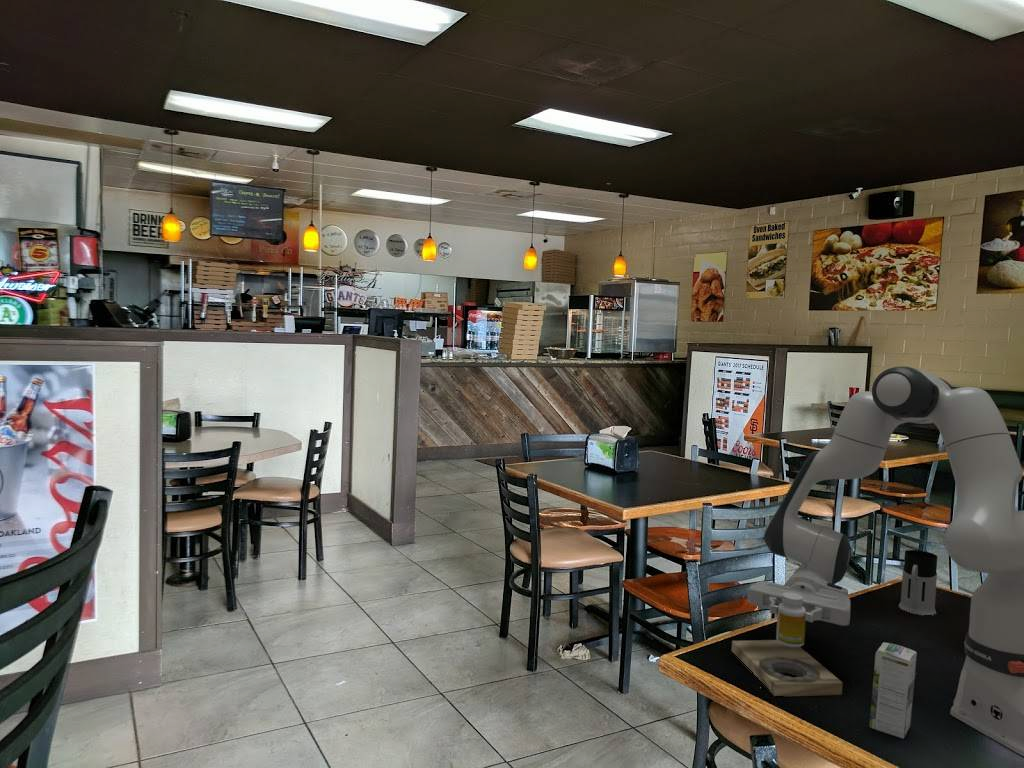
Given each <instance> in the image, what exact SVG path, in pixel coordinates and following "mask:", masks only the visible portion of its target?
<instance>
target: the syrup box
mask: <svg viewBox="0 0 1024 768" xmlns="http://www.w3.org/2000/svg"><path fill="white" fill-rule="evenodd" d="M917 654H918V652H916V650H913V649H911V648H908V647H905V646H902V645H899V644H894V643H891V642H882V643H881V646H879V648H878V649H877V650H876V651H875V656H874V668H873V679H872V680H873V681H872V691H871V702H870V703H871V704H870V714H869V728H871V729H873V730H876V731H877V732H882V733H884V734H888V735H890V736H894V737H897V738H900V739H903V740H904V739H905V737H906V736H907V734H908V731H909V729H910V727H911V724H912V723H911V721H912V712H913V700H914V690H915V689H914V688H915V678H916V664H917V663H916V662H917V656H918V655H917Z"/></svg>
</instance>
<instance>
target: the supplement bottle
mask: <svg viewBox="0 0 1024 768" xmlns="http://www.w3.org/2000/svg"><path fill="white" fill-rule="evenodd" d="M782 602H783V603H781V604H779V606H778V614H776V615H777V618H776V630H775V631H776V635H775V640H777V641H778V642H779V643H781V644H783V645H786V646H790V647H802V646H804V645H805V637H806V636H805V635H806V621H805V612H806V610H805V608H804V607H803V606H802V605H803V597H802V596H801V595H799V594H796V593H789V592H787V593H783V594H782Z"/></svg>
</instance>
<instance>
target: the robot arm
mask: <svg viewBox="0 0 1024 768" xmlns="http://www.w3.org/2000/svg"><path fill="white" fill-rule="evenodd" d="M902 424H904V425H906V426H932V425H933V426H934V425H935V426H936V427H937V429H938V431H939V433H940V435H941V438H942V441H943V445H944V448H945V452H946V455H947V458H948V461H949V464H950V468H951V470H952V475H953V477H954V481H955V487H956V508H955V513H954V517H953V519H952V521H951V522H950V524H949V525H948V526H947V527H946V530H945V534H944V545H945V548H946V549H945V550H946V552H947V553H948V556H949V557H950V559H951V560H952V561H953V562H954V563H955V564H956V565H957V566H959V567H960V568H962V569H964V570H968V571H973V572H977V573H984V574H987V576H986V577H985V579H984V580H983V582H982V583H981V584H980V585H979V586H977V588H976V589H975V590H974V591H973V593H972V595H971V598H970V609H969V610H970V611H969V623H968V624H969V625H968V631H967V632H966V634H965V640H964V642H963V643H964V653H965V656H966V657H965V661H964V664H963V667H962V669H961V672H960V675H959V676H960V677H959V680H958V686H957V690H956V695H955V697H954V699H953V702H952V703H953V705H952V706H951V708H950V712H949V714H950V715H951V716H952V717H954V718H956V719H957V720H959V721H961V722H963V723H965V724H966V725H967V726H970V727H971V728H973V729H975V730H977V731H978V732H980V733H982V734H984V735H985V736H987V737H989V738H991V739H992V740H993V741H996V742H997V743H999V744H1001V745H1003V746H1004V747H1006V748H1008V749H1009V750H1012V751H1013V752H1015V753H1016V754H1019V755H1020V756H1022V757H1024V510H1017V509H1016V501H1015V498H1016V497H1015V494H1016V488H1017V486H1018V484H1019V483H1020V482H1021V481H1022V478H1023V475H1024V474H1023V473H1024V472H1023V467H1022V466H1021V463H1020V459H1019V457H1018V453H1017V451H1016V448H1015V446H1014V443H1013V440H1012V437H1011V435H1010V432H1009V430H1008V427H1007V423H1006V422H1005V420H1004V418H1003V416H1002V414H1001V412H1000V410H999V408H998V407H997V405H996V403H995V402H994V400H993V399H992V397H991V395H990V394H989V393H988V392H987V391H985V390H984V389H981V388H980V387H975V386H964V387H963V386H961V387H957V388H954V387H953V386H952V385H951V384H950V383H949V382H948V381H947V380H945V379H944V378H941V377H938V376H936V375H934V374H932V373H931V372H928V371H927V370H926V371H925V370H922V369H919V368H918V369H917V368H914V367H911V366H903V365H902V366H894V367H891V368H890V367H889V368H887V369H885V370H883V371H882V372H881V373H879V374H878V375H877V377H876V378H875V379H874V381H873V383H872V387H871V391H867V390H865V391H859V392H856V393H853V395H851V396H850V398H849V399H848V401H847V403H846V404H845V406H844V408H843V410H842V412H841V413H840V415H839V418H838V420H837V423H836V426H835V428H834V431H833V434H832V436H831V438H830V440H829V441H828V443H827V444H826V445H825V446H824V447H823V448H822V449H820V450H814V451H813V452H811V453H810V454H809V456H808V457H807V458H806V460H805V461H804V463H803V464H802V466H801V468H800V470H799V471H798V473H797V475H796V476H795V478H794V480H793V481H792V483H791V484H790V487H789V489H788V491H787V492H786V494H785V496H784V498H783V499H782V502H781V503H780V505H779V507H778V509H776V512H775V514H774V515H772V517H771V518H770V519H769V521H768V523H767V525H766V527H765V528H764V533H763V541H764V543H765V546H767V548H768V550H769V551H770V552H771V554H773V555H776V556H779V557H783V558H785V559H790V560H793V561H794V562H797V563H800V564H801V565H800V566H798V567H797V569H795V571H794V572H793V573H792V574H791V576H790V577H788V579H787V580H786V582H785V583H784V584H779V583H776V582H771V581H766V580H765V581H764V580H761V581H759V580H758V581H757V582H755V583H753V584H751V585H750V586H749V587H748V588H747V589H748V590H747V602H748V603H749V604H751V605H753V606H756V607H760V608H766V609H769V613H770V614H774V615H778V606H779V604H781V603H783V602H782V594H783V593H787V592H789V593H796V594H799V595H801V596H802V597H803V605H802V606H803V607H804V608H805V610H806V612H805V622H808V623H813V622H814V621H820V622H824V623H825V622H827V623H830V624H834V625H838V626H842V627H843V626H844V627H845V626H849V625H850V620H851V606H852V605H851V599H850V596H849V590H848V588H846V587H843V586H840V585H837V583H839V582H841V581H842V580H843V578H844V577H845V575H846V572H847V570H848V568H849V566H850V562H851V558H852V551H853V549H852V545H851V543H850V542H849V539H848V538H847V535H845V533H844V534H843V533H841V532H839V531H837V530H834V529H831V528H828V527H826V526H822V525H819V524H817V523H814V522H811V521H809V520H807V519H803V518H802V517H800V516H799V515H798V513H799V511H800V509H801V507H802V506H803V504H804V502H805V501H806V499H807V498H808V495H809V493H810V491H811V489H812V488H813V487H814V486H815V484H817V483H819V482H822V481H827V480H857V479H863V478H865V477H868V476H870V475H872V474H874V473H876V471H877V470H878V469H879V467H880V465H881V463H882V462H883V459H884V457H885V454H886V452H887V448H888V445H889V442H890V439H891V437H892V434H893V432H894V430H896V428H897V427H898V426H899V425H902Z"/></svg>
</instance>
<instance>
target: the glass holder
mask: <svg viewBox="0 0 1024 768" xmlns="http://www.w3.org/2000/svg"><path fill="white" fill-rule="evenodd" d="M903 560H904V562H903V567H902V576H901V577H902V578H901V579H902V580H901V592H900V593H901V595H900V602H899V604H898V608H899V609H900V610H902V611H904V610H905V611H904V612H906V611H907V613H909V612H910V614H914V615H917V614H918V616H924V615H932V616H935V615H937V611H936V608H935V607H936V593H937V592H936V591H937V580H938V579H937V577H938V573H937V565H938V555H937V554H935V553H932V552H931V551H930V552H929V551H925V550H920V549H907V550H904V559H903ZM934 614H935V615H934Z"/></svg>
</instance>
